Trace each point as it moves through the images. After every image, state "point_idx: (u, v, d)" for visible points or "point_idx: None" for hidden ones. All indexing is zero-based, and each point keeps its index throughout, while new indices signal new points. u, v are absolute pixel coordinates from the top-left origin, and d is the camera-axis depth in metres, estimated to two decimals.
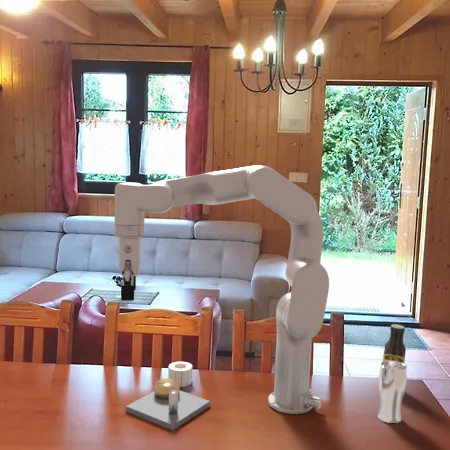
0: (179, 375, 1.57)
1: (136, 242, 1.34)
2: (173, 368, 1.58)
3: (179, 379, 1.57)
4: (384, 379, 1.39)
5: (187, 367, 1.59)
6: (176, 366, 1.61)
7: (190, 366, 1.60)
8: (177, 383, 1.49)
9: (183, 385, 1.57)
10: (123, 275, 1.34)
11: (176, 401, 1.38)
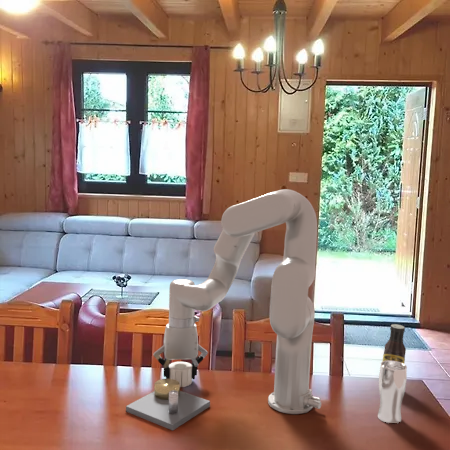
0: (179, 375, 1.57)
1: None
2: (173, 368, 1.58)
3: (179, 379, 1.57)
4: (384, 379, 1.39)
5: (187, 367, 1.59)
6: (176, 366, 1.61)
7: (190, 366, 1.60)
8: (177, 383, 1.49)
9: (183, 385, 1.57)
10: (195, 358, 1.59)
11: (176, 401, 1.38)
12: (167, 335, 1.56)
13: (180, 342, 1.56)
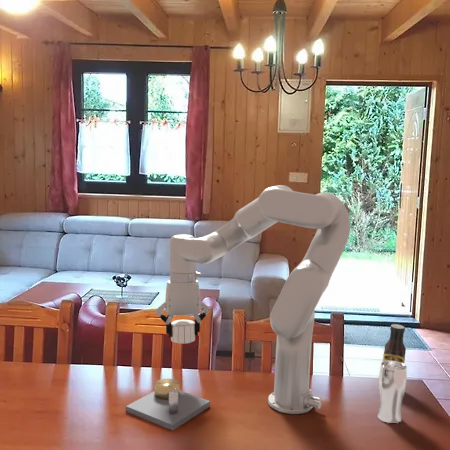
0: (182, 331, 1.54)
1: None
2: (175, 325, 1.56)
3: (182, 335, 1.55)
4: (384, 379, 1.39)
5: (190, 324, 1.57)
6: (178, 324, 1.59)
7: (193, 323, 1.58)
8: (177, 383, 1.49)
9: (186, 341, 1.55)
10: (197, 314, 1.57)
11: (176, 401, 1.38)
12: (169, 291, 1.54)
13: (182, 297, 1.54)
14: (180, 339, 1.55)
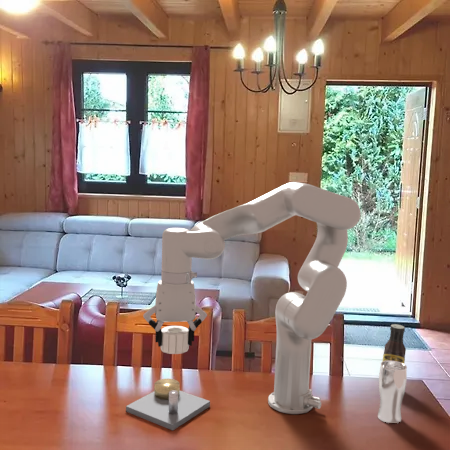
0: (173, 340, 1.33)
1: None
2: (166, 332, 1.35)
3: (173, 345, 1.34)
4: (384, 379, 1.39)
5: (183, 331, 1.36)
6: (170, 330, 1.38)
7: (186, 330, 1.37)
8: (177, 383, 1.49)
9: (178, 352, 1.34)
10: (192, 320, 1.36)
11: (176, 401, 1.38)
12: (159, 292, 1.33)
13: (175, 301, 1.33)
14: (171, 349, 1.34)
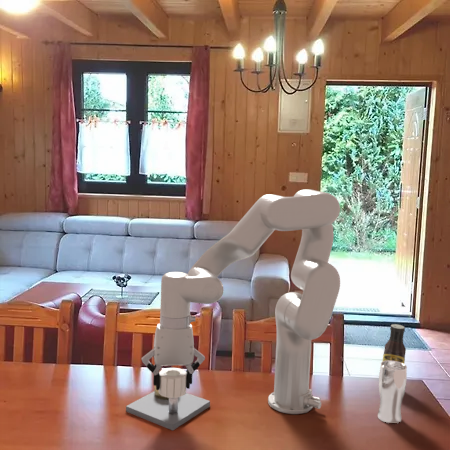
0: (171, 384, 1.34)
1: None
2: (164, 375, 1.35)
3: (171, 388, 1.34)
4: (384, 379, 1.39)
5: (181, 374, 1.37)
6: (168, 373, 1.39)
7: (184, 373, 1.37)
8: None
9: (176, 396, 1.35)
10: (190, 364, 1.37)
11: (176, 401, 1.38)
12: (158, 337, 1.33)
13: (173, 345, 1.34)
14: (169, 393, 1.34)
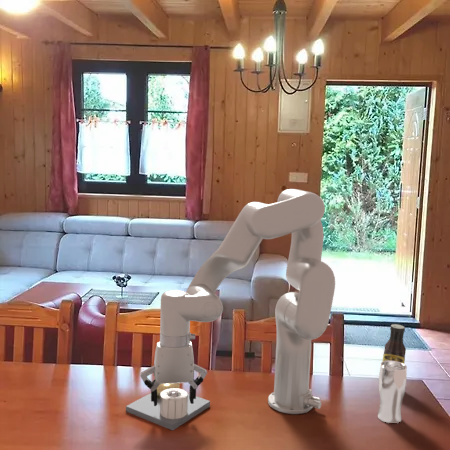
0: (172, 405, 1.35)
1: None
2: (165, 397, 1.36)
3: (172, 410, 1.35)
4: (384, 379, 1.39)
5: (182, 395, 1.37)
6: None
7: (185, 394, 1.38)
8: (177, 383, 1.49)
9: (177, 417, 1.36)
10: (192, 379, 1.37)
11: None
12: (158, 355, 1.34)
13: (173, 363, 1.34)
14: (170, 414, 1.35)
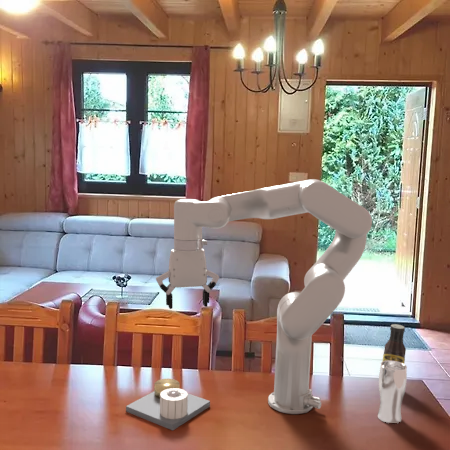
0: (172, 405, 1.35)
1: None
2: (165, 397, 1.36)
3: (172, 410, 1.35)
4: (384, 379, 1.39)
5: (182, 395, 1.37)
6: None
7: (185, 394, 1.38)
8: (177, 383, 1.49)
9: (177, 417, 1.36)
10: (205, 283, 1.45)
11: None
12: (173, 260, 1.41)
13: (188, 267, 1.42)
14: (170, 414, 1.35)
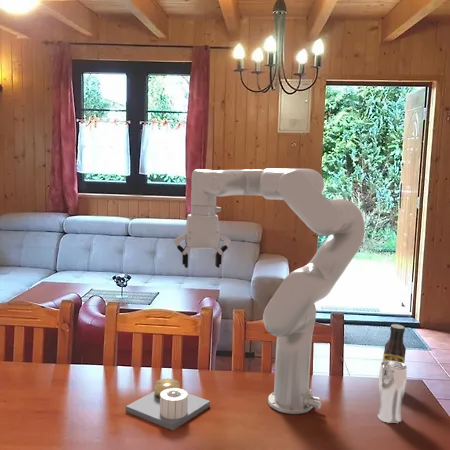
0: (172, 405, 1.35)
1: None
2: (165, 397, 1.36)
3: (172, 410, 1.35)
4: (384, 379, 1.39)
5: (182, 395, 1.37)
6: None
7: (185, 394, 1.38)
8: (177, 383, 1.49)
9: (177, 417, 1.36)
10: (218, 246, 1.61)
11: None
12: (189, 223, 1.57)
13: (202, 230, 1.58)
14: (170, 414, 1.35)
